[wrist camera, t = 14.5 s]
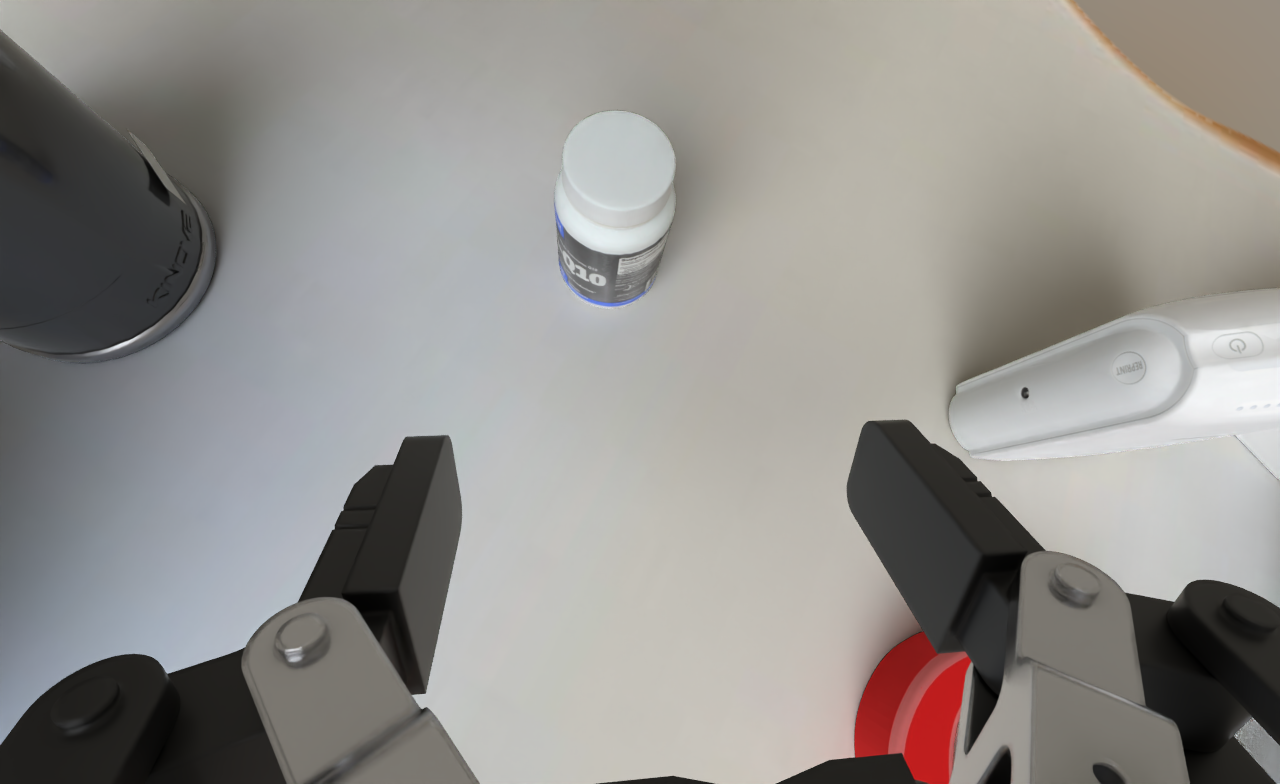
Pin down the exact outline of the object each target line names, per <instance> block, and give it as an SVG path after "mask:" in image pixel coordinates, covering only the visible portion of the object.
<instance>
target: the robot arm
mask: <svg viewBox="0 0 1280 784" xmlns="http://www.w3.org/2000/svg"><path fill="white" fill-rule="evenodd" d="M126 129H127V128H126ZM127 130H128V129H127ZM128 132H129V133H130V135H131V136H132V138H133V139H134V141H135V142H136V144H137V145H138V147H139V148H140V150H141V151H142V153H143V154H144V155H143V154H142V153H141V152H140V151H139V150H137V149H136V148H135V147H134V146H133V145H132V144H131V143H130V142H129V141H128V140H126V139H125V138H124V137H123V136H122V135H121V134H120V133H119V132H117V131H116V130H115V129H114V128H113V127H112V126H111V125H109V124H108V123H107V122H106V121H105V120H104V119H103V118H101V117H100V116H99V115H98V114H97V113H96V112H94V111H93V110H92V109H91V108H90V107H89V106H88V105H86V104H85V103H84V102H83V101H82V100H81V99H80V98H78V97H77V96H76V95H75V94H74V93H73V92H71V91H70V90H69V89H68V88H67V87H66V86H65V85H63V84H62V83H61V82H60V81H59V80H58V79H56V78H55V77H54V76H53V75H52V74H51V73H50V72H48V71H47V70H46V69H45V68H44V67H43V66H42V65H40V64H39V63H38V62H37V61H36V60H35V59H33V58H32V57H31V56H30V55H29V54H28V53H27V52H25V51H24V50H23V49H22V48H21V47H20V46H19V45H17V44H16V43H15V42H14V41H13V40H12V39H10V38H9V37H8V36H7V35H6V34H5V33H4V32H2V31H1V30H0V340H1V341H3V342H5V343H6V344H8V345H10V346H12V347H15V348H17V349H19V350H22V351H25V352H28V353H31V354H34V355H37V356H40V357H43V358H47V359H50V360H55V361H60V362H69V363H91V362H100V361H107V360H111V359H116V358H120V357H123V356H126V355H129V354H132V353H134V352H137V351H139V350H142V349H144V348H146V347H148V346H150V345H152V344H154V343H155V342H157V341H158V340H160V339H162V338H163V337H165V336H166V335H167V334H169V333H170V332H171V331H173V330H174V329H175V328H176V327H177V326H179V325H180V324H181V323H182V322H183V321H184V320H185V319H186V318H187V317H188V316H189V315H190V313H191V312H192V311H193V310H194V308H195V307H196V306H197V304H198V303H199V301H200V300H201V298H202V297H203V295H204V293H205V291H206V289H207V287H208V285H209V283H210V280H211V277H212V274H213V271H214V266H215V261H216V239H215V233H214V230H213V226H212V223H211V221H210V218H209V216H208V214H207V213H206V211H205V209H204V207H203V206H202V205H201V203H200V202H199V201H198V200H197V199H196V198H195V197H194V196H193V194H192V193H190V192H189V191H188V190H187V189H186V188H185V187H184V186H182V185H181V184H180V183H179V182H178V181H177V180H175V179H174V178H173V177H171V176H170V175H169V174H167V173H166V172H164V171H163V169H162V168H161V166H160V165H159V163H158V162H157V160H156V159H155V157H154V156H153V154H152V153H151V151H150V150H149V148H148V147H147V146H146V145H144V144H143V143H142V142H141V141H140V140H139V139H138V138H137V137H136V136H134V135H133V134H132V133H131V132H130V131H129V130H128ZM847 498H848V503H849V507H850V509H851V512H852V514H853V515H854V517H855V519H856V520H857V522H858V524H859V525H860V527H861V529H862V530H863V532H864V534H865V535H866V537H867V539H868V540H869V542H870V544H871V545H872V547H873V549H874V550H875V552H876V553H877V555H878V557H879V558H880V560H881V562H882V563H883V565H884V567H885V568H886V570H887V572H888V573H889V575H890V577H891V578H892V580H893V582H894V583H895V585H896V587H897V588H898V590H899V592H900V593H901V595H902V597H903V598H904V600H905V601H906V603H907V605H908V606H909V608H910V610H911V611H912V613H913V615H914V616H915V618H916V620H917V621H918V623H919V625H920V626H921V628H922V630H923V631H924V633H925V635H926V636H927V638H928V640H929V641H930V643H931V645H932V646H933V648H934V649H935V651H936V653H937V654H941V653H953V652H966V654H967V655H968V657H969V658H970V660H971V663H970V665H969V667H968V669H967V671H966V675H965V682H964V689H963V697H962V705H961V712H960V720H959V727H958V735H957V743H956V750H955V758H954V765H953V770H952V774H951V778H950V781H949V784H1276V783H1275V782H1274V781H1273V780H1272V779H1271V777H1270V776H1269V775H1268V774H1267V773H1266V772H1265V771H1264V770H1263V769H1262V767H1261V766H1260V765H1259V764H1258V763H1257V762H1256V761H1255V760H1254V759H1253V757H1252V756H1251V755H1250V754H1249V753H1248V752H1247V751H1246V750H1245V749H1244V747H1243V746H1242V745H1241V744H1240V743H1239V742H1238V741H1237V740H1236V739H1235V737H1234V735H1235V734H1236V733H1237V732H1238V731H1239V729H1240V728H1241V727H1242V726H1243V725H1244V724H1245V723H1246V722H1247V721H1248V720H1249V719H1250V718H1251V717H1253V718H1254V719H1255V720H1256V721H1257V722H1258V723H1259V724H1260V725H1261V726H1262V727H1263V728H1264V729H1265V731H1266V732H1267V733H1268V734H1269V735H1270V736H1271V737H1272V738H1273V739H1274V740H1275V741H1276V742H1277V743H1278V744H1279V745H1280V608H1279V607H1277V606H1276V605H1274V604H1273V603H1271V602H1269V601H1267V600H1266V599H1264V598H1262V597H1260V596H1258V595H1256V594H1254V593H1252V592H1250V591H1247V590H1245V589H1243V588H1240V587H1237V586H1234V585H1231V584H1228V583H1224V582H1220V581H1214V580H1196V581H1193V582H1191V583H1189V584H1188V585H1187V586H1186V587H1185V589H1184V590H1183V591H1182V593H1181V594H1180V595H1179V597H1178V598H1177V599H1176V601H1175V602H1172V601H1166V600H1161V599H1156V598H1150V597H1145V596H1140V595H1134V594H1129V593H1125V592H1124V591H1123V590H1122V589H1121V587H1120V586H1119V585H1118V584H1117V583H1116V582H1115V581H1114V580H1113V579H1112V578H1110V577H1109V576H1108V575H1107V574H1105V573H1104V572H1103V571H1101V570H1100V569H1098V568H1096V567H1095V566H1093V565H1091V564H1089V563H1087V562H1085V561H1083V560H1081V559H1079V558H1076V557H1073V556H1070V555H1067V554H1064V553H1059V552H1052V551H1045V549H1044V548H1043V547H1042V546H1041V545H1040V544H1039V543H1038V542H1037V541H1036V540H1035V539H1034V538H1033V537H1032V536H1031V535H1030V533H1029V532H1028V531H1027V530H1026V529H1025V528H1024V527H1023V526H1022V525H1021V524H1020V523H1019V522H1018V521H1017V520H1016V519H1015V517H1014V516H1013V515H1012V514H1011V513H1010V512H1009V511H1008V510H1007V509H1006V508H1005V507H1004V506H1003V505H1002V504H1001V503H1000V502H999V500H998V499H997V498H996V497H992V496H991V492H990V491H989V490H988V489H987V488H986V487H985V486H984V484H983V483H982V482H981V481H977V477H976V476H975V475H974V474H973V473H972V472H971V471H970V470H969V468H968V467H967V466H966V465H965V464H964V463H963V462H962V461H961V460H960V459H959V458H957V457H955V456H954V455H952V454H951V453H949V452H948V451H946V450H944V449H943V448H941V447H940V446H938V445H936V444H931V443H930V442H929V441H928V440H927V439H926V438H925V437H924V436H923V435H922V434H921V432H920V431H919V430H918V429H917V428H916V427H915V426H914V425H913V424H912V423H911V422H910V421H908V420H883V421H868V422H866V423H865V425H864V426H863V428H862V430H861V434H860V437H859V441H858V445H857V448H856V452H855V456H854V459H853V463H852V467H851V471H850V474H849V478H848V482H847ZM461 523H462V504H461V496H460V490H459V484H458V478H457V472H456V466H455V460H454V454H453V448H452V443H451V439H450V437H449V436H448V435H441V436H414V437H405V439H404V440H403V442H402V445H401V447H400V450H399V452H398V454H397V457H396V459H395V462H394V464H393V465H375V466H374V467H373V468H372V469H371V470H370V471H369V472H367V473H366V474H365V475H364V476H363V477H362V478H361V479H360V480H359V481H358V482H357V483H355V484H354V486H353V488H352V490H351V492H350V494H349V496H348V498H347V501H346V503H345V505H344V510H343V511H341V513H340V515H339V517H338V519H337V521H336V524H335V530H332V532H331V534H330V536H329V538H328V540H327V542H326V544H325V547H324V549H323V551H322V553H321V555H320V557H319V559H318V561H317V563H316V565H315V567H314V570H313V572H312V574H311V576H310V578H309V580H308V582H307V584H306V586H305V588H304V591H303V593H302V595H301V597H300V599H299V601H298V603H296V604H293V605H291V606H289V607H287V608H285V609H283V610H281V611H280V612H278V613H276V614H275V615H274V616H272V617H271V618H269V619H268V620H267V621H266V622H265V623H264V624H262V625H261V626H260V627H259V628H258V630H257V631H256V632H255V633H254V634H253V636H252V637H251V638H250V640H249V641H248V643H247V645H246V647H245V648H243V649H241V650H239V651H236V652H233V653H231V654H228V655H225V656H222V657H219V658H216V659H212V660H209V661H206V662H203V663H200V664H197V665H194V666H191V667H188V668H185V669H181V670H178V671H175V672H172V673H169V674H167V673H166V672H165V670H164V669H163V667H162V666H161V664H160V663H159V662H158V661H157V660H155V659H154V658H152V657H149V656H146V655H141V654H125V655H120V656H114V657H111V658H107V659H104V660H101V661H98V662H96V663H93V664H90V665H88V666H86V667H84V668H82V669H80V670H78V671H76V672H74V673H73V674H71V675H69V676H67V677H66V678H64V679H63V680H61V681H60V682H58V683H57V684H55V685H54V686H53V687H51V688H50V689H49V690H48V691H46V692H45V693H44V694H43V695H42V696H40V697H39V698H38V699H37V700H36V701H35V702H34V703H33V704H32V705H31V706H30V707H29V708H28V710H27V711H26V712H25V713H24V714H23V716H22V717H21V718H20V720H19V721H18V722H17V724H16V725H15V726H14V728H13V729H12V730H11V732H10V733H9V734H8V736H7V737H6V739H5V740H4V741H3V743H2V744H1V745H0V784H480V783H479V782H478V780H477V779H476V777H475V775H474V774H473V772H472V771H471V769H470V768H469V766H468V765H467V763H466V762H465V760H464V759H463V757H462V755H461V754H460V752H459V751H458V749H457V748H456V746H455V745H454V743H453V742H452V740H451V738H450V737H449V735H448V734H447V732H446V731H445V729H444V728H443V726H442V725H441V723H440V722H439V720H438V719H437V718H436V716H435V715H434V714H433V712H432V711H431V710H430V709H429V708H427V707H426V708H424V709H421V708H420V707H419V706H418V704H417V703H416V701H415V700H414V698H413V697H412V695H415V694H426V690H427V685H428V680H429V676H430V671H431V667H432V662H433V657H434V653H435V648H436V643H437V639H438V634H439V629H440V625H441V620H442V615H443V611H444V606H445V602H446V597H447V592H448V588H449V583H450V578H451V574H452V569H453V564H454V560H455V555H456V550H457V546H458V541H459V537H460V531H461ZM598 784H714V783H709V782H703V781H698V780H692V779H687V778H681V777H676V776H668V777H658V778H648V779H638V780H628V781H618V782H608V783H598ZM776 784H929V783H926V782H923V781H919V780H914V778H913V775H912V773H911V771H910V769H909V767H908V765H907V763H906V761H905V758H904V756H903V754H902V753H895V754H885V755H875V756H866V757H856V758H846V759H836V760H829V761H826V762H824V763H822V764H820V765H817V766H815V767H813V768H810V769H808V770H806V771H804V772H801V773H799V774H797V775H795V776H792V777H790V778H788V779H786V780H783V781H781V782H779V783H776Z"/></svg>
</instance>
